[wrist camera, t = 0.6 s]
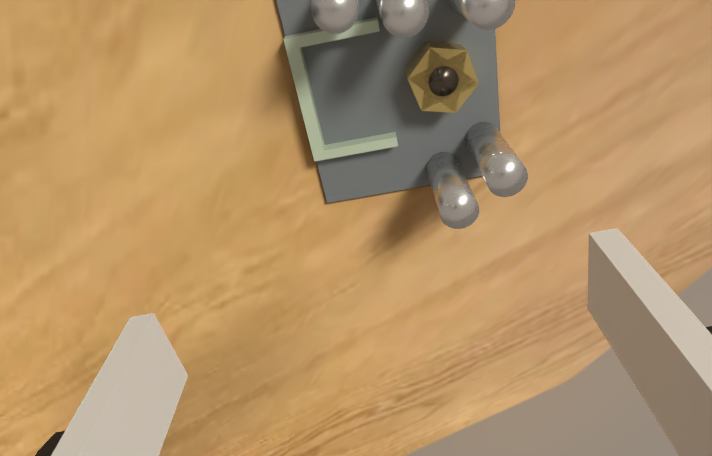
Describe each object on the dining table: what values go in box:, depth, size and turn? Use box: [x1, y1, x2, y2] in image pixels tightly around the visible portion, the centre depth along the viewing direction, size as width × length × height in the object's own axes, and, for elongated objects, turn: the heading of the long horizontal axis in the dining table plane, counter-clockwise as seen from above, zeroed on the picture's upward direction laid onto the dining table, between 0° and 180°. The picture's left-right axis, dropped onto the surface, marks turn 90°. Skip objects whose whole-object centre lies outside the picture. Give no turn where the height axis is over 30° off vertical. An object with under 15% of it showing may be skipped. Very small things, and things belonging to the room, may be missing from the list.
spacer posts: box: [311, 0, 528, 229], centre depth 36 cm, size 12×18×8 cm
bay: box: [283, 17, 398, 162], centre depth 39 cm, size 7×10×1 cm
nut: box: [405, 41, 479, 113], centre depth 38 cm, size 5×5×3 cm
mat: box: [276, 0, 500, 203], centre depth 40 cm, size 16×20×1 cm
